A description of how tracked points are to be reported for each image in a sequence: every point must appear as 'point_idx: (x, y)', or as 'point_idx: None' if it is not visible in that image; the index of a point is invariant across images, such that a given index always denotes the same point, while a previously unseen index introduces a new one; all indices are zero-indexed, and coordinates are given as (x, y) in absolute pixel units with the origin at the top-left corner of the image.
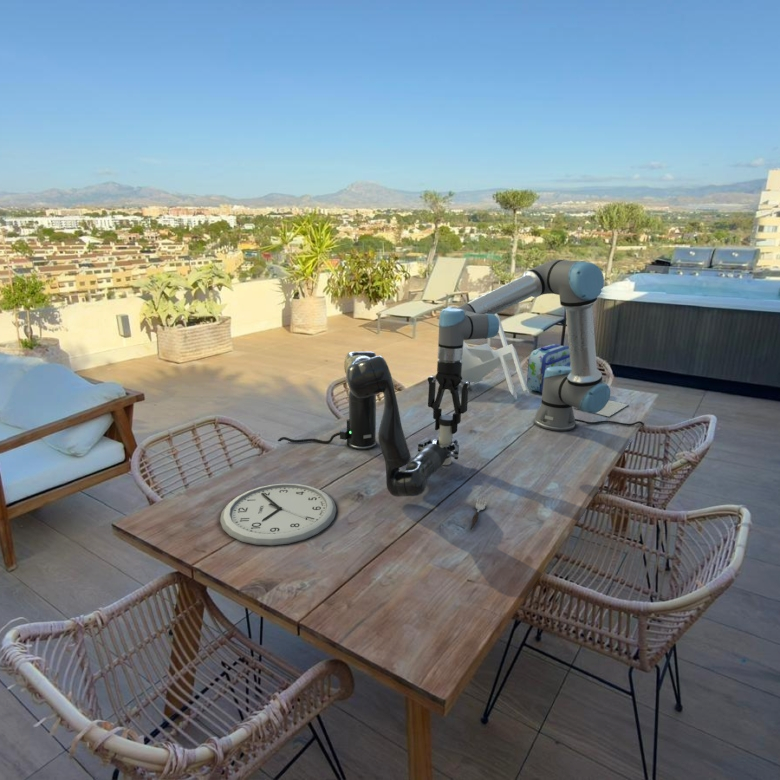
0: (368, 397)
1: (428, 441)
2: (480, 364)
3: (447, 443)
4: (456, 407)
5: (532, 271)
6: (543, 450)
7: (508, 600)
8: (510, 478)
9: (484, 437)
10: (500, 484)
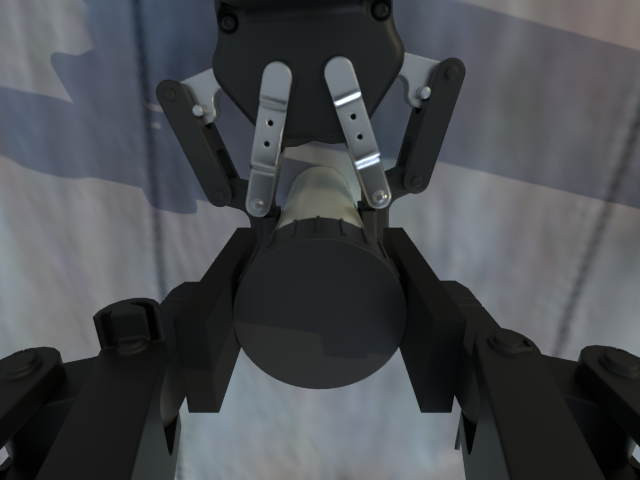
0: None
1: (411, 153)
2: None
3: (291, 200)
4: (97, 411)
5: None
6: None
7: None
8: (12, 201)
9: (282, 468)
10: (7, 120)
